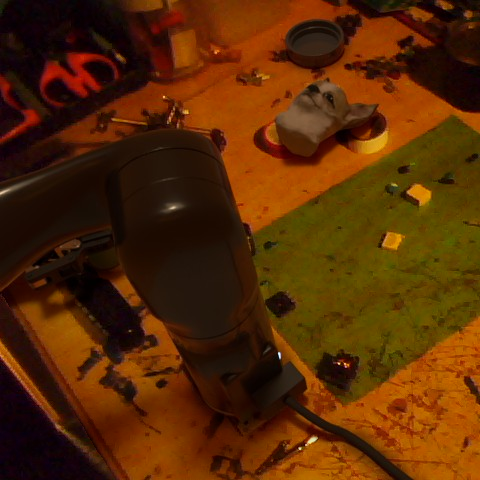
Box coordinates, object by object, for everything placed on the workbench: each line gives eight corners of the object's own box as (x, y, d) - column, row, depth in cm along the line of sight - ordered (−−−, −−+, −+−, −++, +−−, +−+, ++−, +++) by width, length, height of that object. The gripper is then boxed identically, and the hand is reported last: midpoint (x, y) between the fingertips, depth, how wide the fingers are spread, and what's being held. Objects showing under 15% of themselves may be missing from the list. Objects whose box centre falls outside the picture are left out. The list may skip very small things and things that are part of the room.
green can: (135, 253, 84) (114, 214, 78) (100, 276, 83) (76, 237, 76) (116, 230, 87) (94, 190, 80) (82, 251, 85) (57, 212, 79)
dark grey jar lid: (356, 50, 104) (355, 36, 102) (311, 77, 101) (309, 64, 99) (319, 24, 109) (318, 11, 107) (275, 50, 106) (273, 37, 104)
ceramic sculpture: (247, 96, 87) (323, 42, 93) (255, 145, 93) (325, 91, 100) (309, 132, 82) (384, 72, 89) (312, 181, 89) (382, 122, 96)
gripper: (-14, 229, 86) (117, 194, 87) (-15, 323, 77) (130, 282, 79) (-44, 191, 79) (98, 154, 81) (-50, 288, 71) (109, 245, 73)
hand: (113, 218), depth 80 cm, fingers open, 5 cm apart
